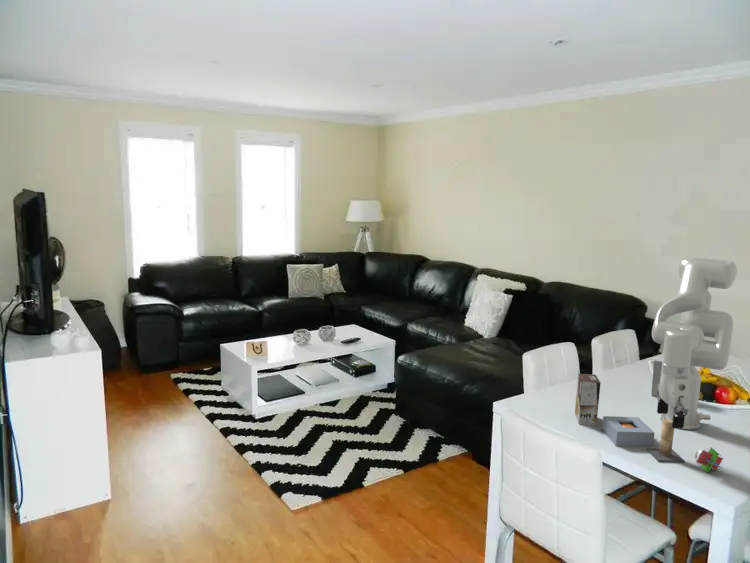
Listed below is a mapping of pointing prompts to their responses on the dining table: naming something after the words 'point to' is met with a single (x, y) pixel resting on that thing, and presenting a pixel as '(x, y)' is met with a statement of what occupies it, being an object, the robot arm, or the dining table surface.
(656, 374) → the skincare box
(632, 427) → the orange push button
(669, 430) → the beech dowel
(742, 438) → the dining table surface
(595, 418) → the coffee box
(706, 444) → the dining table surface
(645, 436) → the grey button housing
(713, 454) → the geometric puzzle
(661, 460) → the rubber pad
